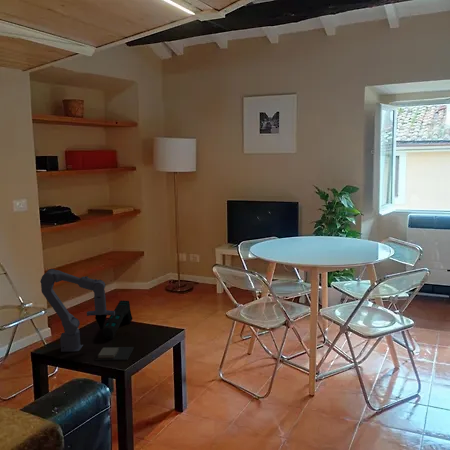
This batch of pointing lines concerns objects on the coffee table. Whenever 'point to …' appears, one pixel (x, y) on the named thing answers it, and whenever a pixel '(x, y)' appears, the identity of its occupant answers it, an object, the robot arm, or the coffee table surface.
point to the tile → (108, 353)
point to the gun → (117, 319)
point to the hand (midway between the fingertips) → (101, 328)
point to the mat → (118, 354)
